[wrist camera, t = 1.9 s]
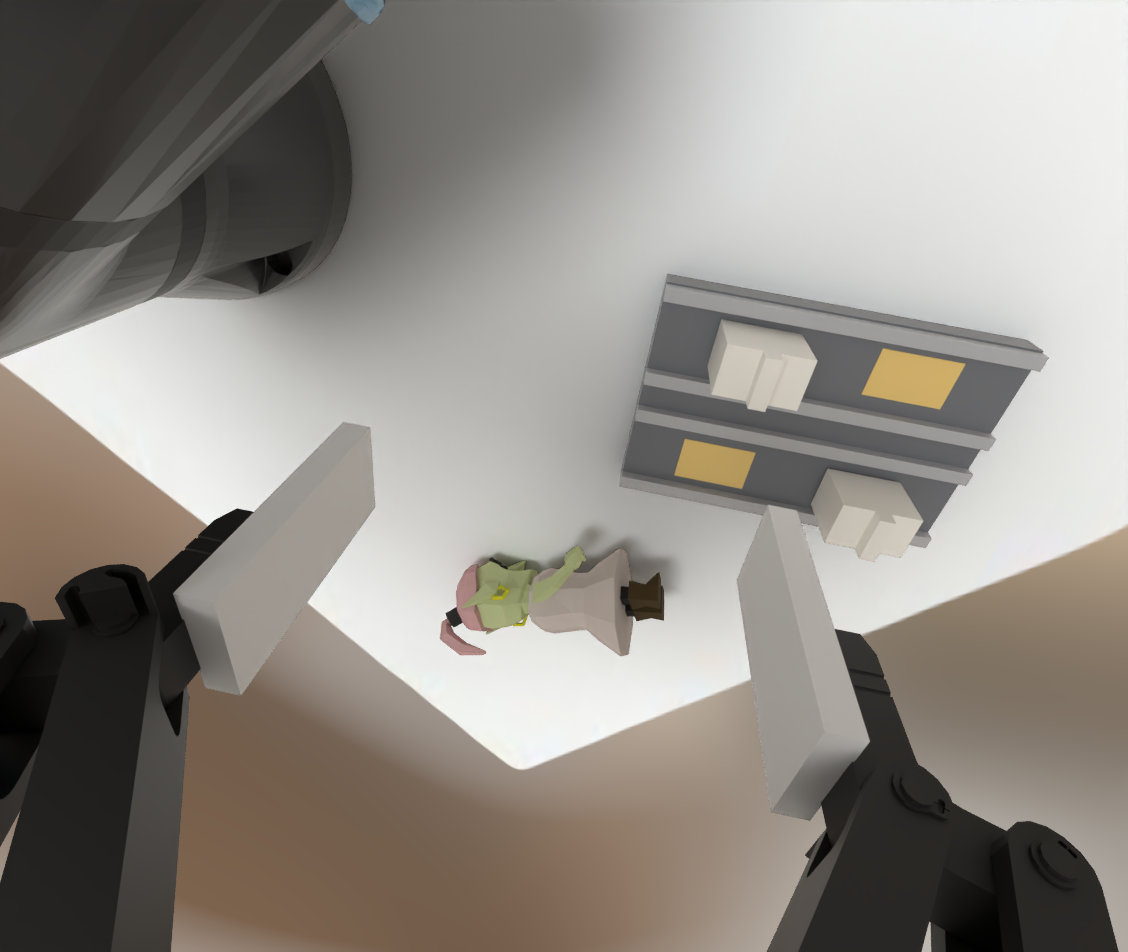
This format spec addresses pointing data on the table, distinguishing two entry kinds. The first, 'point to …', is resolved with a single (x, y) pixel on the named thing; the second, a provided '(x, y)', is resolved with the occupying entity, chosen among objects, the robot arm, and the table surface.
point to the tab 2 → (865, 514)
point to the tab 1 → (760, 366)
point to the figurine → (555, 600)
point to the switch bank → (818, 404)
